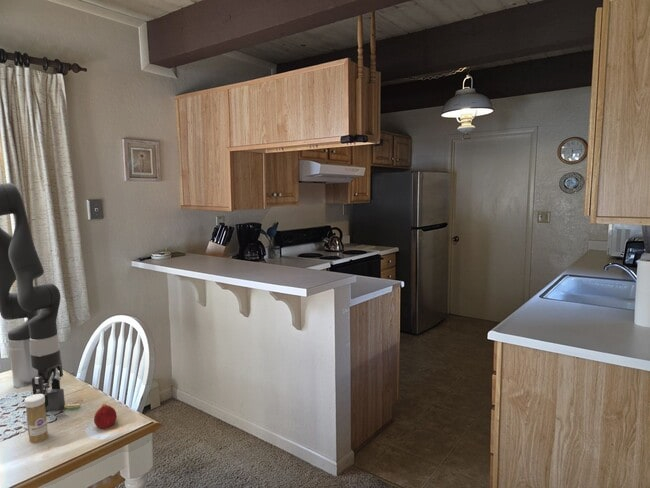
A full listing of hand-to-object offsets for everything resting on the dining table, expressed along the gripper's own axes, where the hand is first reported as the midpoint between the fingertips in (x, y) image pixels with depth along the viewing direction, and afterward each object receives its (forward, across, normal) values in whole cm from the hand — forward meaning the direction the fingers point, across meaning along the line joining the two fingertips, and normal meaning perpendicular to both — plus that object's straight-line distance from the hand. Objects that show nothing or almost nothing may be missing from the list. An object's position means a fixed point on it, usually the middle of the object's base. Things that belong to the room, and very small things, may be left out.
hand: (50, 399), depth 133 cm
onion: (+5, +12, +20) cm, 24 cm away
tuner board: (+4, +1, +2) cm, 5 cm away
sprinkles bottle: (+5, +16, +4) cm, 17 cm away
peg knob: (+3, 0, +2) cm, 4 cm away
